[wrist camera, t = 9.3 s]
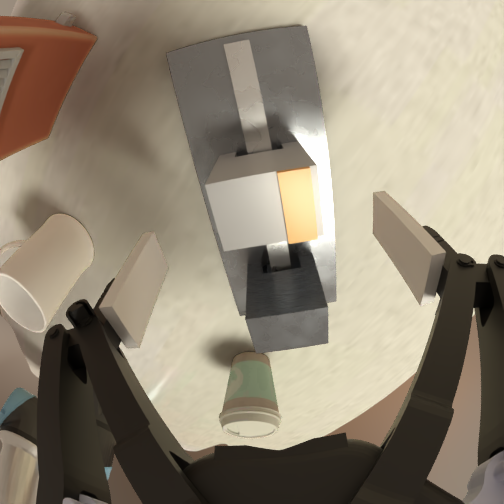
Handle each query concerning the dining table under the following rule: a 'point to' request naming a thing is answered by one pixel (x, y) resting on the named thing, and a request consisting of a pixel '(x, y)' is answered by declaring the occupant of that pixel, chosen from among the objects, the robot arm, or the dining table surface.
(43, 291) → the mug
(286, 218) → the module
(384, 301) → the dining table surface
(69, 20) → the control panel
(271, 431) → the coffee cup
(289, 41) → the rail board
